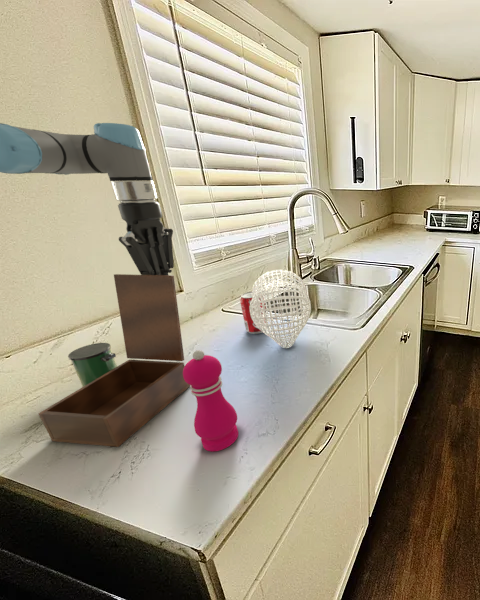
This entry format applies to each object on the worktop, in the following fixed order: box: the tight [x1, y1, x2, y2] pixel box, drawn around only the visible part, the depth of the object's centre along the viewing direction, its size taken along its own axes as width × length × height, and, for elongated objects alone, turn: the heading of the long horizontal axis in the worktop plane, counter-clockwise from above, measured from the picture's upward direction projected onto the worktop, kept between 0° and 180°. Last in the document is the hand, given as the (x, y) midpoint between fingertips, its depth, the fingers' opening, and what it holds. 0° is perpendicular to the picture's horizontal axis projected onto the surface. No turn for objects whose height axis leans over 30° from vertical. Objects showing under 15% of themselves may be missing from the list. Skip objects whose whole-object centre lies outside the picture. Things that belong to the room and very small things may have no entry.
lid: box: [113, 273, 185, 362], centre depth 77 cm, size 21×15×1 cm
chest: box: [38, 359, 190, 448], centre depth 71 cm, size 20×15×7 cm
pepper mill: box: [183, 349, 239, 452], centre depth 61 cm, size 7×7×20 cm
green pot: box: [67, 342, 118, 388], centre depth 80 cm, size 10×8×10 cm
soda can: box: [239, 291, 268, 335], centre depth 107 cm, size 7×7×13 cm
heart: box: [250, 269, 312, 349], centre depth 95 cm, size 28×16×22 cm, turn 21°
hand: (166, 299), depth 82 cm, fingers closed
